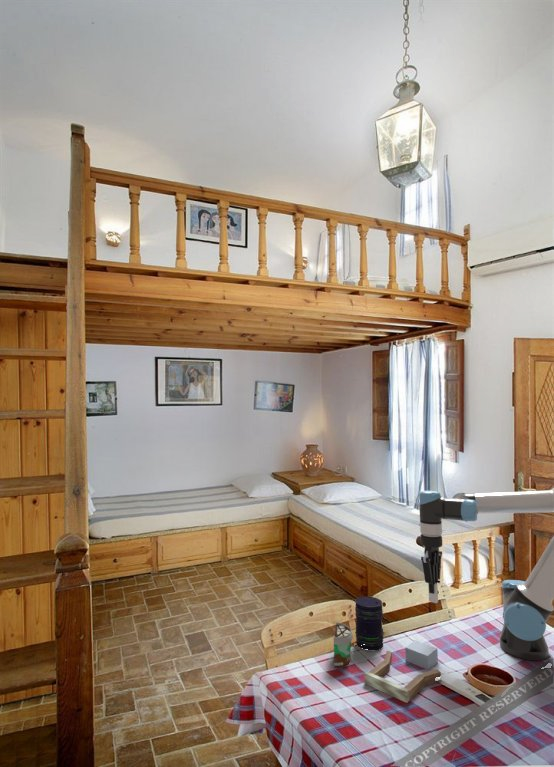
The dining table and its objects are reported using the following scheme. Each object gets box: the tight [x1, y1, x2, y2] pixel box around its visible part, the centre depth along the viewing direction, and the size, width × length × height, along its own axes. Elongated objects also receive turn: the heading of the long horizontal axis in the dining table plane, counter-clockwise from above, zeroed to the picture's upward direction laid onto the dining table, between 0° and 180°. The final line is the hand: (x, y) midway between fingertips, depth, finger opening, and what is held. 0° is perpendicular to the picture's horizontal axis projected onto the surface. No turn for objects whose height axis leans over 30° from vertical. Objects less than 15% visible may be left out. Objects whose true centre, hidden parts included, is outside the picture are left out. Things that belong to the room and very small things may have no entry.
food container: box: [333, 622, 354, 669], centre depth 147 cm, size 12×6×10 cm, turn 168°
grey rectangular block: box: [404, 640, 439, 671], centre depth 147 cm, size 8×7×4 cm
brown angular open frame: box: [363, 650, 442, 704], centre depth 136 cm, size 19×18×3 cm
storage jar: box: [354, 596, 384, 651], centre depth 159 cm, size 10×10×15 cm
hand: (433, 601), depth 156 cm, fingers closed
